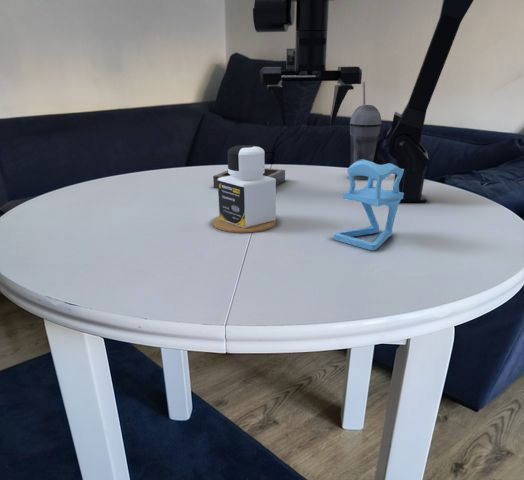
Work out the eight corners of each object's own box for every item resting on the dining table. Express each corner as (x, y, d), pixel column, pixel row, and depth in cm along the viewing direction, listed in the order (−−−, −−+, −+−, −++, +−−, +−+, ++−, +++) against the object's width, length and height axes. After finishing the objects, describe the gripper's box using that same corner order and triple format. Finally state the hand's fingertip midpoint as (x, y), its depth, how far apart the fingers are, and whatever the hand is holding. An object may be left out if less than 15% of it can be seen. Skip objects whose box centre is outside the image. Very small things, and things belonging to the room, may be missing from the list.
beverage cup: (378, 181, 112) (389, 82, 101) (347, 181, 112) (354, 82, 101) (373, 174, 118) (383, 80, 107) (343, 174, 118) (350, 81, 108)
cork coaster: (276, 232, 80) (276, 230, 79) (209, 232, 80) (209, 230, 79) (275, 214, 89) (275, 211, 89) (216, 214, 89) (216, 212, 89)
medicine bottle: (218, 220, 85) (214, 146, 78) (250, 212, 89) (248, 141, 82) (244, 229, 80) (242, 151, 74) (276, 220, 84) (277, 146, 78)
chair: (404, 238, 76) (416, 158, 70) (373, 251, 72) (382, 165, 65) (364, 228, 81) (372, 151, 75) (332, 239, 76) (338, 158, 70)
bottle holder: (285, 180, 113) (285, 169, 111) (263, 192, 103) (263, 180, 102) (238, 176, 117) (237, 165, 116) (213, 187, 107) (213, 175, 106)
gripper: (356, 33, 94) (349, 121, 102) (260, 33, 94) (261, 121, 102) (366, 30, 85) (357, 127, 93) (259, 31, 85) (260, 128, 93)
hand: (307, 126), depth 95 cm, fingers open, 9 cm apart
